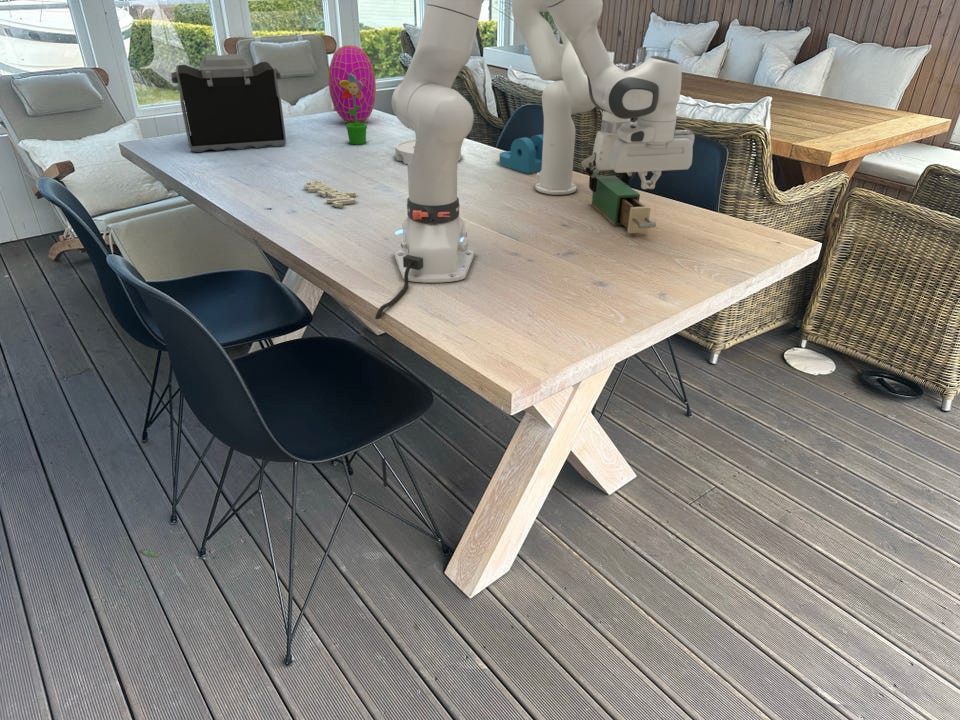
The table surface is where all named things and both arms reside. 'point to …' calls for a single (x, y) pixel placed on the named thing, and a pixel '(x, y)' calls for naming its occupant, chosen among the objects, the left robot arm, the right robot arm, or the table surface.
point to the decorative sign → (330, 193)
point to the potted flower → (354, 129)
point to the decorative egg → (361, 68)
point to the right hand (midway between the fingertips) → (608, 189)
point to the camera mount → (524, 155)
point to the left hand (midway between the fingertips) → (647, 188)
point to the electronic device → (230, 103)
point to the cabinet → (611, 197)
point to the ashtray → (407, 151)
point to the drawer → (634, 215)
